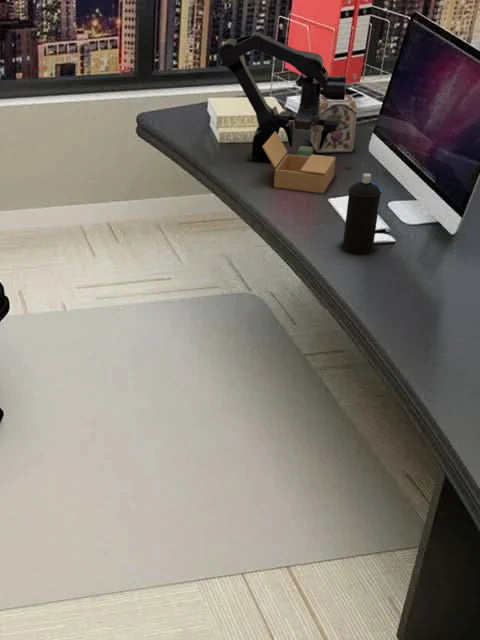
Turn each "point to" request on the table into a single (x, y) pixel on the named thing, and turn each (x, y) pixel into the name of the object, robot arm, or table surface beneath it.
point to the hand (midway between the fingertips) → (305, 147)
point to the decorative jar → (345, 132)
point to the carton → (305, 173)
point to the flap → (274, 149)
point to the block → (305, 151)
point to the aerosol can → (361, 216)
